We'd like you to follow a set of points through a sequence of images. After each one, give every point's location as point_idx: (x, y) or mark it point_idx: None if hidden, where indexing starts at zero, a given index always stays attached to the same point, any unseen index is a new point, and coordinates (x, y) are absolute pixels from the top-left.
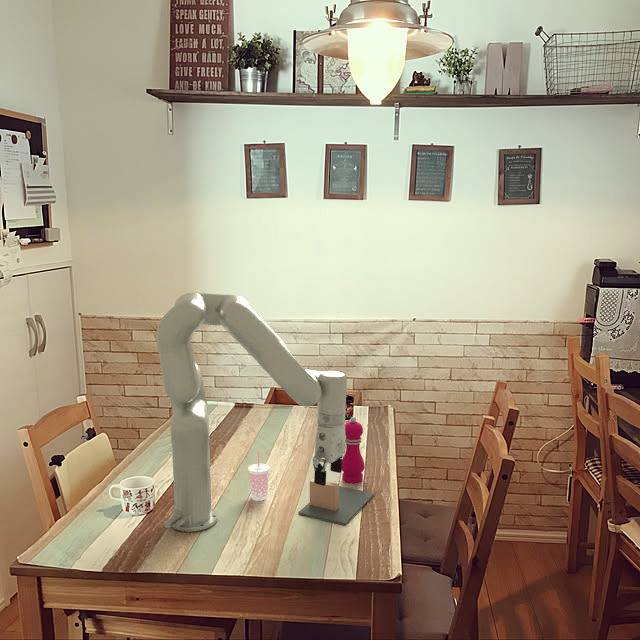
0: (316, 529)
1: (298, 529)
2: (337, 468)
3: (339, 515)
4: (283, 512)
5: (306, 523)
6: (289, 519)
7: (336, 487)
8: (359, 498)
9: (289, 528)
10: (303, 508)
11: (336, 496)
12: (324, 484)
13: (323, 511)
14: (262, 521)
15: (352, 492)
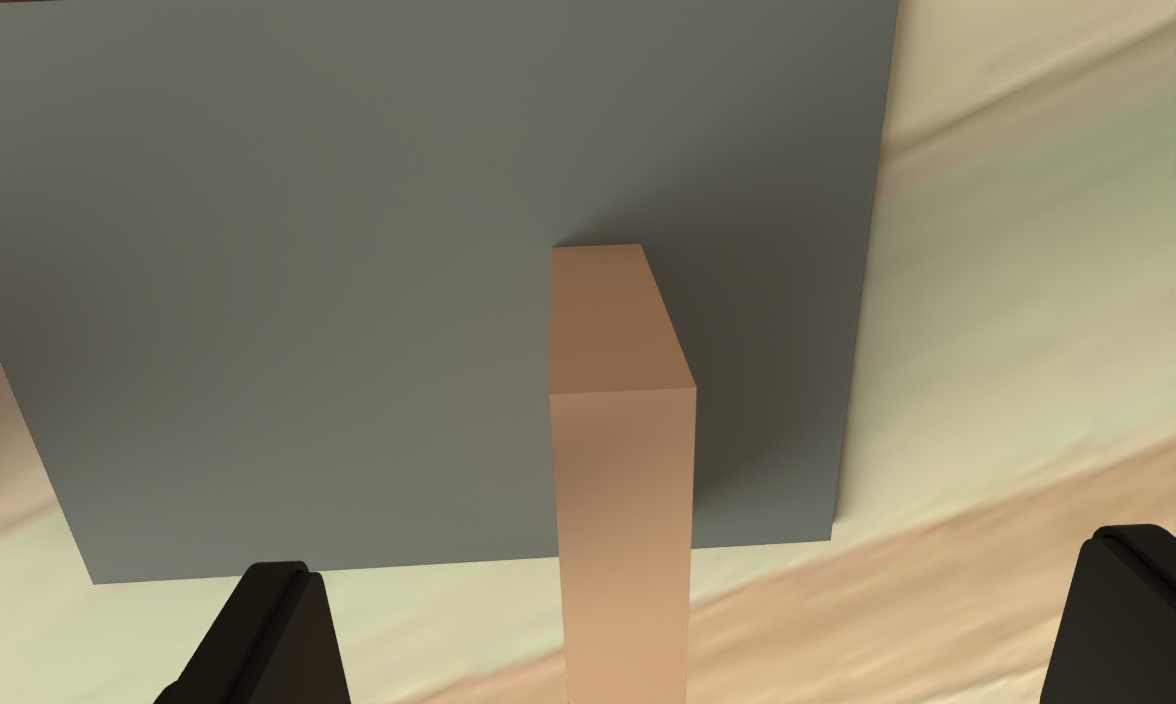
0: (1073, 235)
1: (1114, 385)
2: (299, 694)
3: (731, 143)
4: (840, 632)
5: (975, 381)
6: (946, 538)
7: (654, 377)
8: (156, 135)
9: (1113, 459)
10: (742, 539)
11: (633, 309)
12: (1161, 541)
13: (715, 352)
14: (1045, 675)
15: (79, 295)
